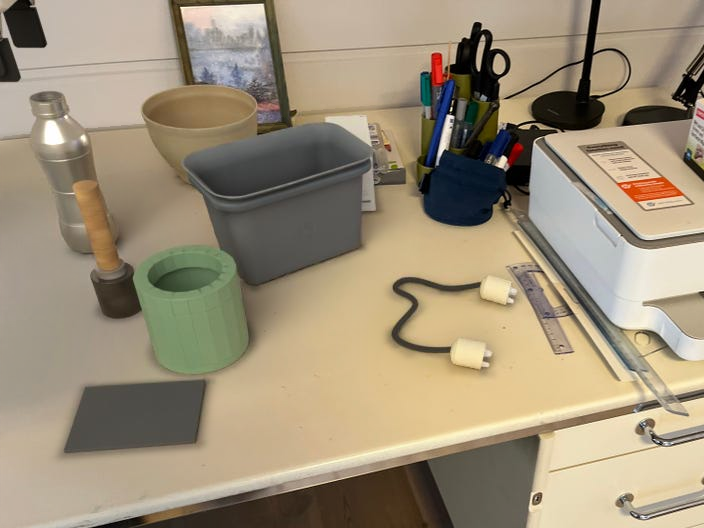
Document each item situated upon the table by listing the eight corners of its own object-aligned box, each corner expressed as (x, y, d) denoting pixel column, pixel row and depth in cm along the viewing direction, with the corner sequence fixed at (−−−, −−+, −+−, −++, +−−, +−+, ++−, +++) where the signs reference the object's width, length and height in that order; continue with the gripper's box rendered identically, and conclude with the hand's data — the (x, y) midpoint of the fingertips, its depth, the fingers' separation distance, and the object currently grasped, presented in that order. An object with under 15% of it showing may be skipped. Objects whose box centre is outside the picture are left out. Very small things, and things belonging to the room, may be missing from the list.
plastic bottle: (111, 260, 97) (65, 109, 84) (58, 258, 97) (3, 106, 84) (129, 234, 102) (87, 87, 89) (78, 232, 101) (29, 84, 88)
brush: (98, 319, 88) (55, 196, 77) (106, 296, 91) (66, 175, 81) (139, 317, 88) (103, 195, 78) (146, 294, 92) (112, 174, 81)
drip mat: (64, 453, 72) (63, 450, 72) (86, 389, 79) (84, 387, 78) (195, 443, 74) (194, 440, 74) (205, 382, 81) (204, 379, 80)
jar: (147, 377, 81) (124, 302, 74) (162, 319, 88) (142, 246, 82) (245, 371, 82) (231, 297, 76) (251, 315, 90) (239, 243, 83)
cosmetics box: (328, 179, 117) (323, 114, 110) (370, 178, 118) (368, 113, 111) (331, 213, 109) (326, 145, 102) (376, 211, 110) (374, 144, 103)
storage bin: (239, 306, 91) (220, 200, 82) (187, 249, 100) (164, 147, 91) (386, 253, 102) (384, 154, 93) (328, 205, 111) (320, 111, 101)
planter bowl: (179, 209, 107) (163, 137, 100) (142, 164, 117) (125, 95, 110) (283, 183, 115) (275, 114, 108) (241, 143, 125) (231, 77, 118)
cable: (357, 352, 86) (355, 328, 84) (401, 276, 98) (400, 253, 96) (489, 379, 84) (491, 355, 81) (517, 298, 96) (520, 275, 94)
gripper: (-60, -151, 72) (4, 35, 83) (-141, -120, 59) (-53, 96, 70) (25, -148, 73) (77, 35, 84) (-36, -116, 60) (34, 95, 71)
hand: (18, 63), depth 77 cm, fingers open, 9 cm apart
